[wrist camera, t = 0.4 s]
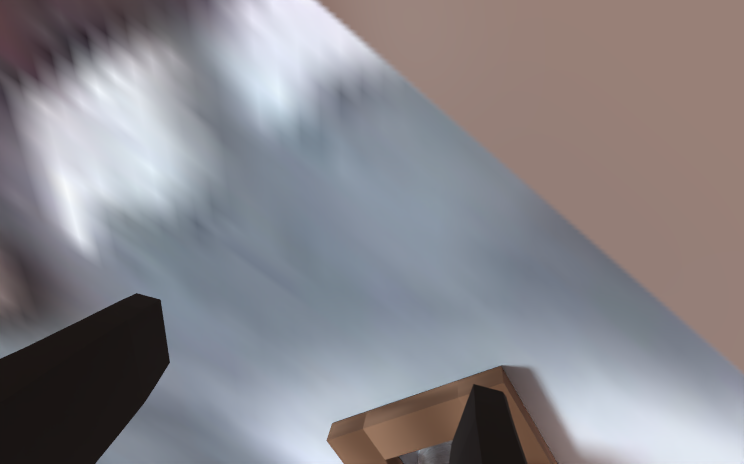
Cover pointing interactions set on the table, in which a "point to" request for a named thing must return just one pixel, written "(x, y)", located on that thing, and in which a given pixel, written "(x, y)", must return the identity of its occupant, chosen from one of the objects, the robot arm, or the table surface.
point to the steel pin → (435, 454)
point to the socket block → (428, 423)
